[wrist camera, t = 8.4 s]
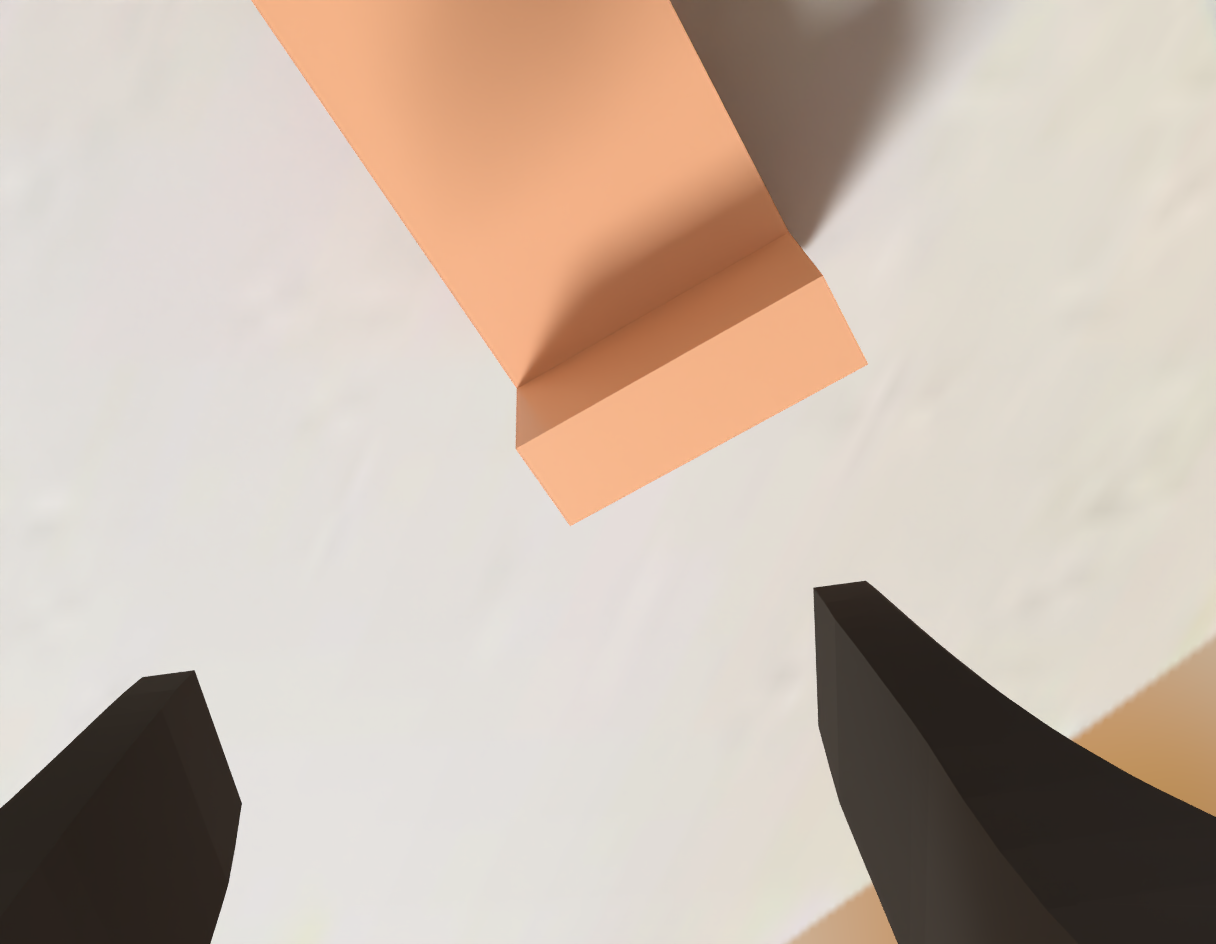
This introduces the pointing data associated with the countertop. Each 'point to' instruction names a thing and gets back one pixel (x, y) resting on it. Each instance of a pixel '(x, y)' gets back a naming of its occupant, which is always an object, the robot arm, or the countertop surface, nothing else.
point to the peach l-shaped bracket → (581, 221)
